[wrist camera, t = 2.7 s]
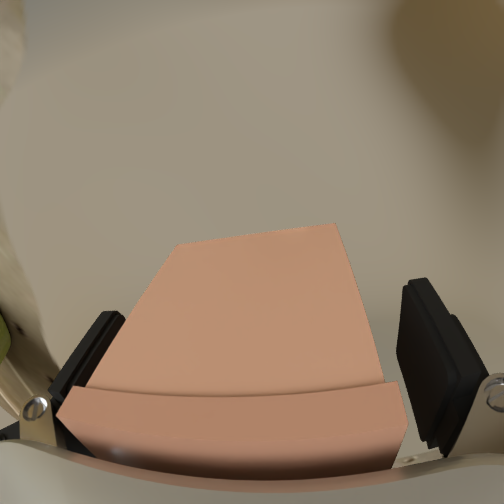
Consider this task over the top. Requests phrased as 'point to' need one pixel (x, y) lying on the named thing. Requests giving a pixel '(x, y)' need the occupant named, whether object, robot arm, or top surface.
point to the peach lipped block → (245, 367)
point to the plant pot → (4, 339)
